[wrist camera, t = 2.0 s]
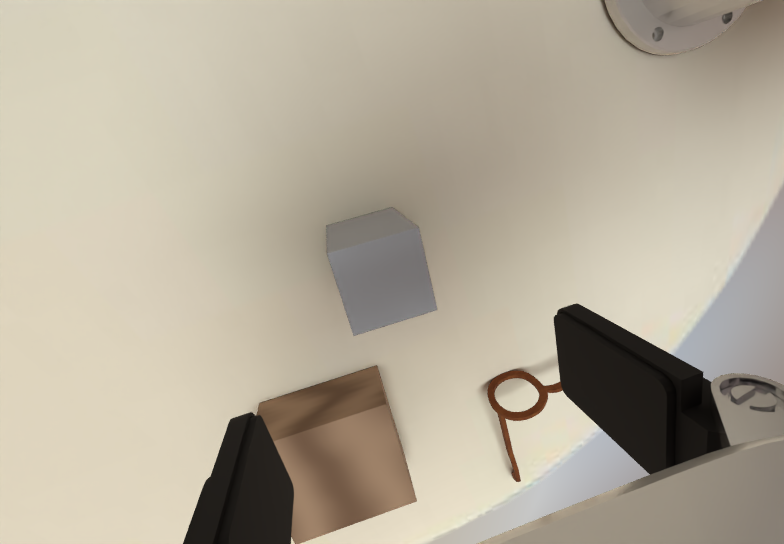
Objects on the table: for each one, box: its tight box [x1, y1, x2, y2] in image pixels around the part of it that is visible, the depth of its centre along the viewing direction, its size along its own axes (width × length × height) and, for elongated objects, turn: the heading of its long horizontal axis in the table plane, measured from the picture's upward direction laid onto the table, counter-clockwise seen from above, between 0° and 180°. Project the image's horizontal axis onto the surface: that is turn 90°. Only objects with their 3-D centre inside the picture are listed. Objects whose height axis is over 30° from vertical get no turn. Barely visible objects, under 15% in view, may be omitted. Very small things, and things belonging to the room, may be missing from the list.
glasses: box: [488, 371, 563, 482], centre depth 33 cm, size 13×13×5 cm
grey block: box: [326, 207, 437, 336], centre depth 23 cm, size 5×5×8 cm
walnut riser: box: [256, 366, 417, 544], centre depth 29 cm, size 10×10×5 cm
